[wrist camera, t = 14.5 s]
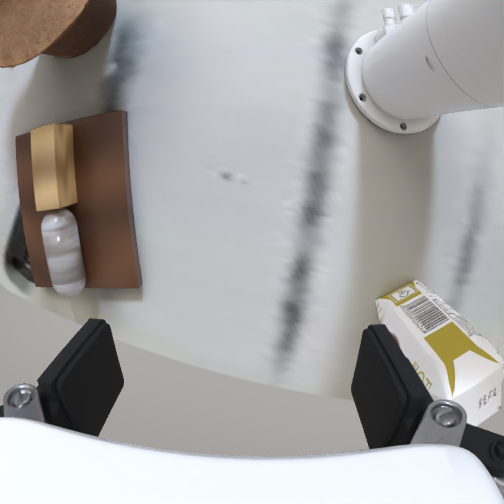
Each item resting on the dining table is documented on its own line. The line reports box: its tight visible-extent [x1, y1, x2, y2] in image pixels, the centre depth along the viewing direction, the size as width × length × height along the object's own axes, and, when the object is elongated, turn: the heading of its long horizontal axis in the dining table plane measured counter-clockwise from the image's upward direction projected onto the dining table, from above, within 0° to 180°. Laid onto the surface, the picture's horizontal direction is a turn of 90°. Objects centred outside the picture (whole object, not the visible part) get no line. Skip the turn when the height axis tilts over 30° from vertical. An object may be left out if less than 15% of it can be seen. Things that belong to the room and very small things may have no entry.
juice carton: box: [375, 280, 504, 426], centre depth 28 cm, size 8×9×19 cm
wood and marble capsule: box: [31, 123, 86, 297], centre depth 30 cm, size 20×4×4 cm, turn 2°
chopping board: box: [16, 110, 142, 288], centre depth 33 cm, size 20×16×2 cm
